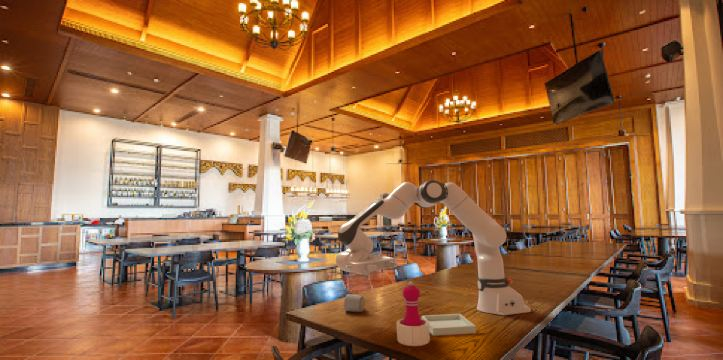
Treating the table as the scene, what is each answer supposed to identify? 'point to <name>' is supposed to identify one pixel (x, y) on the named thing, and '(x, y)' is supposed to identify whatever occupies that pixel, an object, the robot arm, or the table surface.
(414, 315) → the pepper mill
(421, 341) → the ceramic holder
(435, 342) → the table surface
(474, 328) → the sage tray
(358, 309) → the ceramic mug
